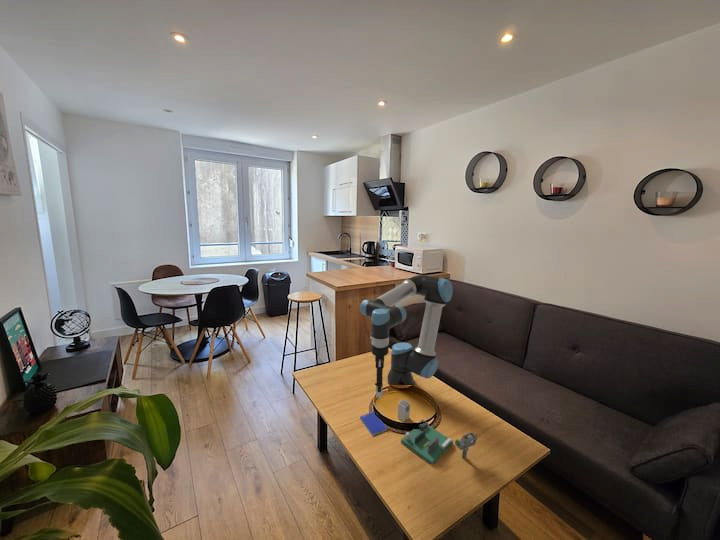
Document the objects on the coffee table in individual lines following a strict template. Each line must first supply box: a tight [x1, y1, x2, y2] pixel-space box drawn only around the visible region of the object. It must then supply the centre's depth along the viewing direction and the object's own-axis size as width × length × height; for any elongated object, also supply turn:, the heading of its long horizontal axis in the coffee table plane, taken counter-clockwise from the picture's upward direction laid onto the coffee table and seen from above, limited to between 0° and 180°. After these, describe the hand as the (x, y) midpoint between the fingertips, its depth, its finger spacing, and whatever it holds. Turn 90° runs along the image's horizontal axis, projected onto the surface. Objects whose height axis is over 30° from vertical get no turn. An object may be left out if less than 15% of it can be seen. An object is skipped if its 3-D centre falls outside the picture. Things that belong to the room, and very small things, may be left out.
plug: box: [397, 399, 411, 422], centre depth 147 cm, size 4×5×8 cm
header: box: [415, 429, 439, 454], centre depth 130 cm, size 7×7×4 cm
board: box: [400, 419, 454, 466], centre depth 132 cm, size 16×16×4 cm
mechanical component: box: [454, 432, 478, 460], centre depth 124 cm, size 3×10×10 cm, turn 113°
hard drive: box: [359, 411, 388, 436], centre depth 144 cm, size 2×8×12 cm
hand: (379, 387), depth 136 cm, fingers open, 13 cm apart
